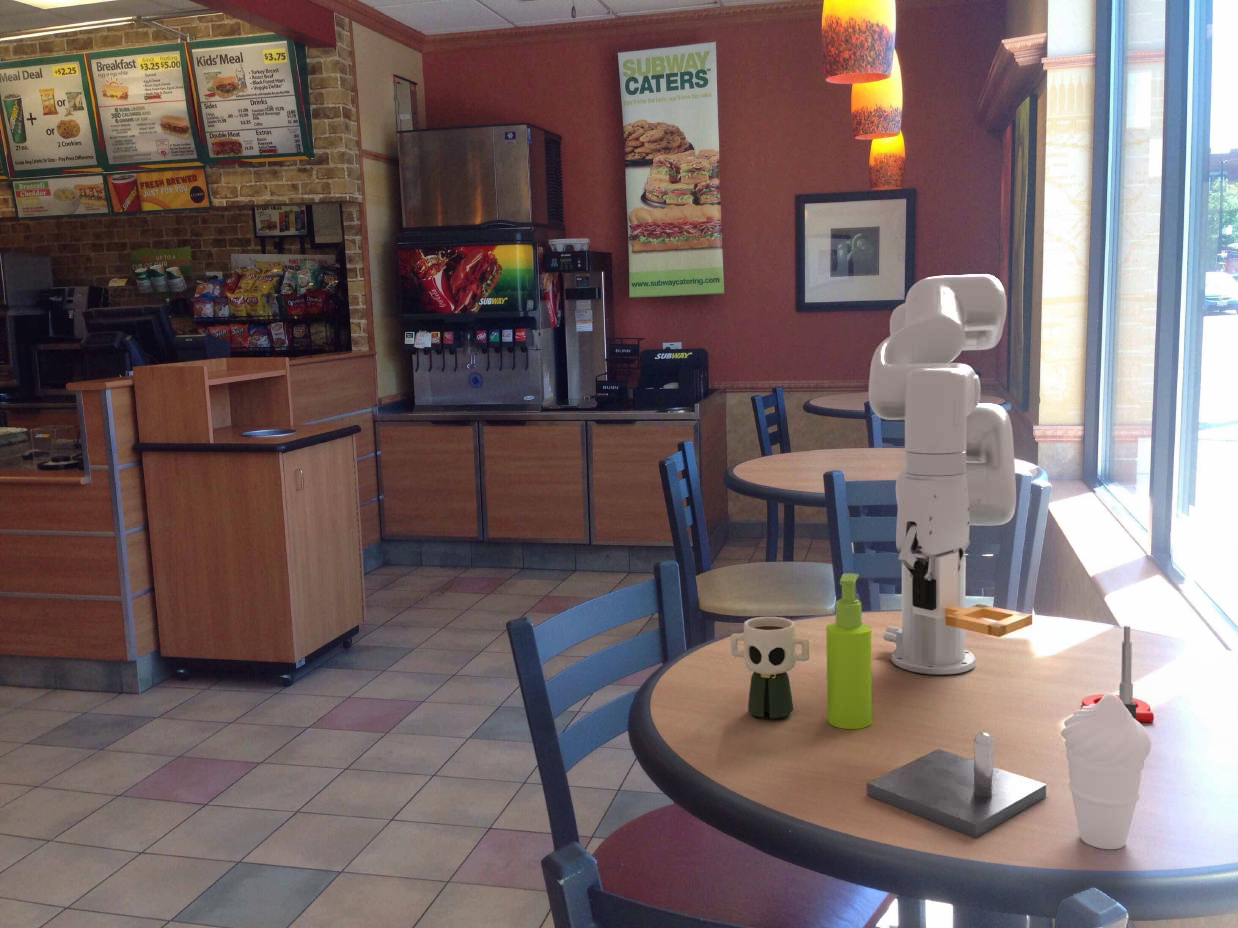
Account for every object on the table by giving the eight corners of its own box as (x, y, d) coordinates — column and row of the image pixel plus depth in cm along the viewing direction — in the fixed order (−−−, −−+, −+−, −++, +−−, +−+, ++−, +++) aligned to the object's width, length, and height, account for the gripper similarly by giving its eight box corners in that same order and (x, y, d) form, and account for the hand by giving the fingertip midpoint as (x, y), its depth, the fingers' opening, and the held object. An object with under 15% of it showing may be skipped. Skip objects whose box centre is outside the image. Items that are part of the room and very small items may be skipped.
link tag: (905, 615, 137) (904, 555, 136) (938, 604, 141) (938, 545, 140) (999, 637, 127) (999, 571, 125) (1032, 624, 131) (1033, 561, 130)
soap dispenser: (874, 712, 147) (873, 571, 144) (869, 730, 140) (868, 583, 138) (831, 708, 149) (830, 569, 146) (824, 726, 142) (822, 581, 139)
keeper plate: (866, 795, 121) (866, 724, 120) (938, 760, 130) (938, 693, 129) (975, 837, 111) (976, 760, 109) (1045, 796, 119) (1047, 724, 118)
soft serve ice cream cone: (1044, 823, 113) (1046, 679, 111) (1119, 818, 114) (1123, 674, 112) (1085, 863, 105) (1088, 707, 103) (1165, 856, 105) (1170, 702, 103)
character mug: (726, 719, 146) (724, 628, 144) (737, 701, 153) (735, 614, 151) (806, 726, 142) (804, 632, 141) (813, 707, 149) (812, 618, 147)
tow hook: (1074, 701, 149) (1093, 722, 140) (1075, 611, 148) (1095, 627, 139) (1138, 702, 148) (1161, 724, 139) (1139, 611, 147) (1163, 627, 138)
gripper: (947, 455, 143) (947, 587, 146) (870, 470, 133) (871, 612, 135) (998, 459, 137) (996, 597, 140) (921, 475, 127) (921, 623, 129)
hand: (935, 602), depth 137 cm, fingers closed on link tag, 4 cm apart
